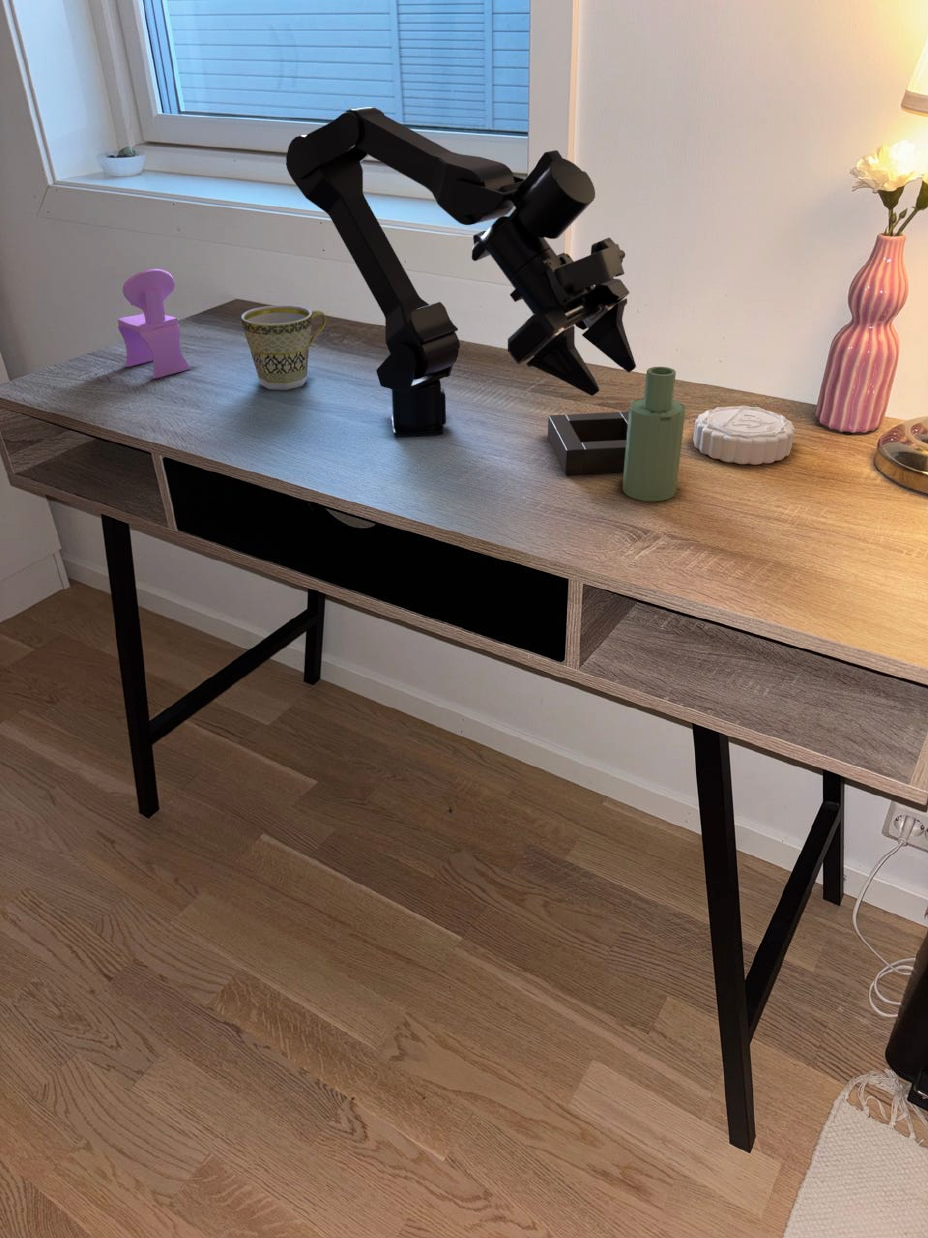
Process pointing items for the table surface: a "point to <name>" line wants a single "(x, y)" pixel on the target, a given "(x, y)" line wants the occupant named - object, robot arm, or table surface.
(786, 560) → the table surface
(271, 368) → the ceramic cup
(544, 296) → the robot arm
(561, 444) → the holder
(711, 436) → the mooncake
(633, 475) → the vase
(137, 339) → the toy chair
